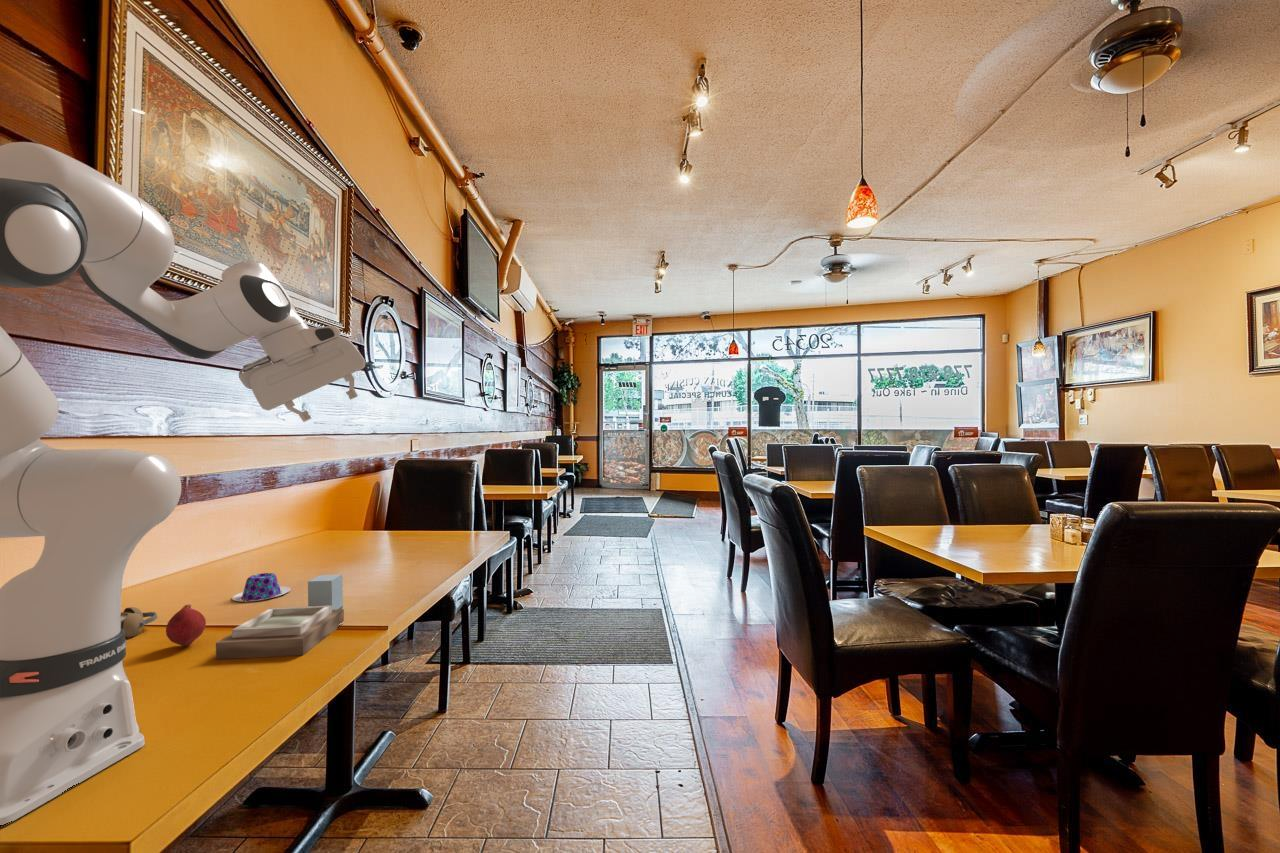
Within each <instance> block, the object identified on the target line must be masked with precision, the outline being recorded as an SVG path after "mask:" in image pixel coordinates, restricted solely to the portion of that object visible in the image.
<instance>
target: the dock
mask: <svg viewBox="0 0 1280 853" xmlns="http://www.w3.org/2000/svg"><path fill="white" fill-rule="evenodd" d="M344 610H345V609H344V608H343V609H335V610H332V605H331V606H286V607H284V606H283V607H270V608H268V609H267V610H265V611H263V612H261V613H259V614H258V615H256V616H254V617H253V618H251V619H248V620H247V621H245V622H242V623H241V624H240V625H238V626H236V627H234V628H232V629H231V633H230V634H228V635H227V636H225V637H223V638H221V639H220V640H218V641H216V642H215V660H228V659H247V658H249V659H250V658H271V657H273V658H275V657H289V656H290V657H292V656H293V657H294V656H295V657H296V656H304V655H306V654H307V653H308V652H309V651H310V650H312V649H313V648H314V647H316V646H317V645H318V644H319V643H321V642H322V641H324V640H325V639H326V638H327V637H329V636H330V635H331V634H332V633H334V631H336V630H337V629H338V628H337V627H338V625H339V624H340V623H342V622H343V621H344V622H345V611H344Z"/></svg>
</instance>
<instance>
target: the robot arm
mask: <svg viewBox="0 0 1280 853" xmlns="http://www.w3.org/2000/svg"><path fill="white" fill-rule="evenodd" d="M175 248H176V243H175V237H174V233H173V231H172V227H170V224H169V223H168V221H167V220H166V218H164V216H163V215H162V214H160V212H158V210H156V209H155V208H154V207H153V206H152V205H151V204H150V203H148V202H146V201H145V200H144V199H142V198H141V197H139V196H138V195H136V194H135V193H133V192H132V191H131V190H129V189H127V188H126V187H125V186H123V185H122V184H120V183H118V182H116V181H115V180H114V179H112V178H111V177H109V176H107V175H105V174H104V173H102V172H100V171H98V170H97V169H94V168H93V167H91V166H89V165H88V164H85V163H84V162H82V161H80V160H78V159H76V158H73V157H71V156H70V155H67V154H66V153H63V152H61V151H59V150H57V149H55V148H52V147H50V146H47V145H44V144H40V143H36V142H31V141H30V142H29V141H16V142H8V143H4V144H2V145H0V287H4V288H5V287H6V288H12V289H34V288H45V287H49V286H50V287H51V286H55V285H58V284H61V283H63V282H65V281H67V280H68V279H69V278H71V277H72V276H73V275H75V273H77V271H78V275H79V276H80V277H81V279H82V280H83V282H84V283H85V285H86V286H87V287H88V288H89V289H90V290H91V291H92V292H93V293H94V294H96V295H97V296H99V298H100V299H102V300H104V301H105V302H107V303H108V304H110V305H111V306H112V307H114V308H115V309H117V310H118V311H120V312H121V313H123V314H124V315H126V316H128V317H129V318H130V319H133V320H134V321H136V322H137V323H138V324H140V325H142V326H143V327H145V328H147V330H150V331H151V332H153V333H155V334H156V335H157V336H159V337H160V338H161V339H162V340H163V341H164V342H165V343H166V344H168V346H170V347H171V348H173V349H174V351H176V352H178V353H180V354H182V355H184V356H187V357H191V358H195V359H199V360H208V359H211V358H213V357H215V356H216V355H218V354H219V353H221V352H223V351H225V350H227V349H228V348H230V347H232V346H233V347H234V346H235V345H237V344H239V343H242V342H244V341H246V340H248V339H250V338H253V337H256V340H257V342H258V343H259V345H260V347H261V348H262V349H263V351H264V352H265V354H266V356H264V357H261V358H259V359H257V360H255V361H253V362H250V363H249V362H248V363H247V364H244V365H243V366H242V368H241V369H240V370H239V372H238V378H239V381H240V382H241V383H242V384H243V386H244V387H245V388H247V389H249V390H251V391H252V393H253V395H254V397H255V399H256V401H257V403H258V404H259V406H260V407H261V409H262V410H264V411H272V410H273V409H275V408H278V407H280V406H282V405H284V406H285V408H286V409H287V410H288V411H290V412H293V413H294V414H297V415H298V416H299V418H300V419H301V421H302V422H307V421H309V420H311V419H312V417H311V415H310V414H309V412H308V410H304V411H301V410H299V409H298V408H295V406H296V405H295V402H294V400H295V399H298V398H300V397H302V396H305V395H306V394H309V393H311V392H314V391H316V390H318V389H320V388H322V387H323V388H324V387H325V386H327V385H329V384H331V383H334V382H336V381H338V380H340V379H343V380H344V381H345V382H346V383H348V391H345V394H346V395H347V397H348V399H349V400H353V399H355V398H357V397H358V396H359V395H358V394H357V392H356V390H355V378H354V376H353V375H352V374H355V373H356V372H358V371H360V370H363V369H364V368H365V367H366V360H365V358H364V357H363V355H362V353H361V352H360V351H359V350H358V348H357V346H355V344H353V342H352V341H351V340H349V339H348V338H347V337H343V336H341V330H340V329H339V328H338V327H337V326H335V325H332V326H331V325H329V326H320V327H309V326H308V324H307V322H306V321H305V320H304V319H303V318H302V317H301V316H300V314H298V312H297V309H296V308H295V304H294V301H293V300H292V299H291V297H290V295H289V293H288V292H287V291H286V289H285V288H284V286H283V285H282V283H281V282H280V281H279V279H278V278H277V277H276V276H275V275H274V274H273V272H272V271H271V270H270V269H269V268H268V267H267V266H266V265H265V264H264V263H261V262H260V261H259V262H258V261H244V262H239V263H236V264H233V265H231V266H229V267H227V268H225V269H224V270H223V272H222V273H221V279H222V281H221V283H218V284H216V285H214V286H212V287H210V288H207V289H206V290H202V291H201V292H199V293H197V294H194V295H192V296H189V297H186V298H183V299H178V300H167V299H166V298H165V297H163V296H162V295H160V294H159V293H158V292H156V291H155V290H154V289H152V288H151V287H150V286H152V285H153V284H154V283H155V282H156V281H157V280H159V279H160V278H161V277H162V276H163V275H165V273H166V272H167V271H168V270H169V269H170V267H171V264H172V262H173V259H174V256H175ZM59 408H60V406H59V401H58V398H57V396H56V394H55V393H54V392H53V391H52V390H51V388H50V387H49V385H48V384H47V383H46V382H45V380H44V379H43V378H42V377H41V375H40V374H39V373H38V371H37V370H36V369H35V367H34V366H33V365H32V364H31V362H30V361H29V359H28V358H27V357H26V355H25V354H24V353H23V352H22V350H21V349H20V348H19V347H18V345H17V344H16V342H15V341H14V340H13V338H12V337H11V336H10V335H9V334H8V332H6V330H5V329H4V328H3V327H2V326H1V325H0V539H5V538H8V539H9V538H28V537H29V538H31V537H32V538H33V537H44V544H43V549H42V552H41V555H40V556H39V559H38V560H37V561H36V563H35V565H34V566H33V567H31V568H28V569H27V570H24V571H22V572H21V573H19V574H17V575H15V576H13V577H12V578H10V579H9V580H8V581H7V582H6V583H4V584H3V585H2V586H1V587H0V825H3V824H6V823H8V822H10V823H12V822H14V821H16V820H18V819H19V818H21V817H23V816H25V815H26V814H28V813H30V812H31V811H33V810H35V809H37V808H39V807H40V806H42V805H44V804H45V803H47V802H48V801H51V800H53V799H54V798H56V797H58V796H60V795H61V794H63V793H65V792H66V791H68V790H69V789H68V788H70V787H72V786H73V785H75V786H77V785H78V783H79V784H80V783H82V782H83V781H85V780H87V779H88V778H91V777H92V776H94V775H96V774H98V773H100V772H101V771H103V770H104V769H106V768H108V767H110V766H111V765H113V764H115V763H117V762H118V761H120V760H122V759H124V758H125V757H126V756H129V755H131V754H132V753H134V752H136V751H138V750H139V749H141V748H143V747H144V746H145V745H146V742H145V740H146V739H145V736H144V734H142V733H141V732H140V726H139V724H138V722H137V719H136V712H135V706H134V699H133V692H132V691H133V690H132V686H131V682H130V680H129V679H128V675H127V674H126V672H125V669H124V665H123V663H124V662H123V660H124V659H125V657H126V656H127V646H128V645H127V644H128V643H127V640H126V636H125V630H124V629H122V628H121V612H122V605H121V604H122V588H123V580H124V575H125V571H126V567H127V563H128V561H129V560H130V557H131V555H132V554H133V551H135V549H136V547H137V546H138V545H139V542H140V541H141V540H142V539H143V538H144V537H145V536H146V534H148V533H149V532H150V531H151V530H152V529H153V528H155V527H156V526H158V525H159V524H161V523H163V521H165V520H166V519H167V518H168V517H169V516H170V515H172V513H173V511H174V510H175V509H176V507H177V506H178V503H179V501H180V498H181V495H182V481H181V476H180V474H179V472H178V470H177V469H176V467H175V465H173V463H172V462H171V461H170V460H169V459H167V458H166V457H164V456H163V455H160V454H155V453H149V452H146V451H145V452H143V451H139V450H138V451H137V450H129V449H122V448H96V449H95V448H93V449H92V448H91V449H90V448H89V449H86V448H85V449H58V448H56V447H55V448H54V447H52V446H50V445H48V444H46V443H44V442H43V441H42V439H41V438H42V437H44V436H45V435H46V434H47V433H48V432H49V431H50V430H51V429H52V427H53V426H54V424H55V423H56V421H57V419H58V418H57V417H58V414H59ZM76 784H77V785H76ZM73 787H74V786H73ZM73 787H72V788H73ZM67 789H68V790H67ZM70 789H71V788H70ZM65 790H66V791H65ZM64 791H65V792H64ZM62 792H63V793H62ZM11 821H12V822H11ZM8 824H9V823H8ZM6 825H7V824H6Z"/></svg>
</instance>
